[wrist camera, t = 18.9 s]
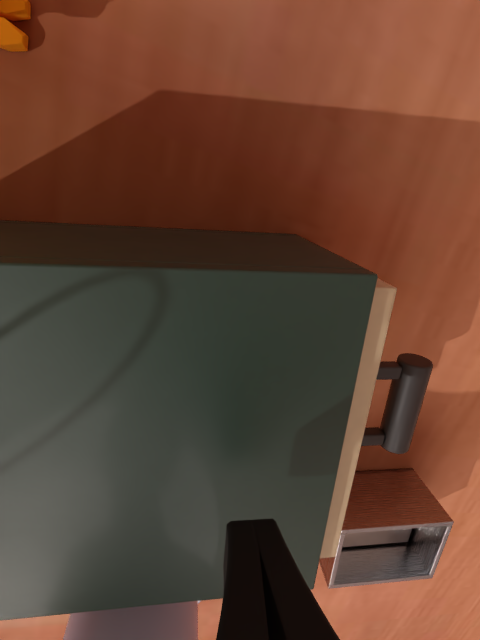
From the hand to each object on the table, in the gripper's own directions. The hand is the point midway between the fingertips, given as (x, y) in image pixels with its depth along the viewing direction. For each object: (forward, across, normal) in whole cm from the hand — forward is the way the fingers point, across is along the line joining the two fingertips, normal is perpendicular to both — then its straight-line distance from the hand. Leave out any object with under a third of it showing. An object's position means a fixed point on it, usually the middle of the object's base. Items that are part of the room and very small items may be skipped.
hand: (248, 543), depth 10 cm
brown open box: (+10, -10, +11) cm, 18 cm away
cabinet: (+10, +5, -1) cm, 11 cm away
